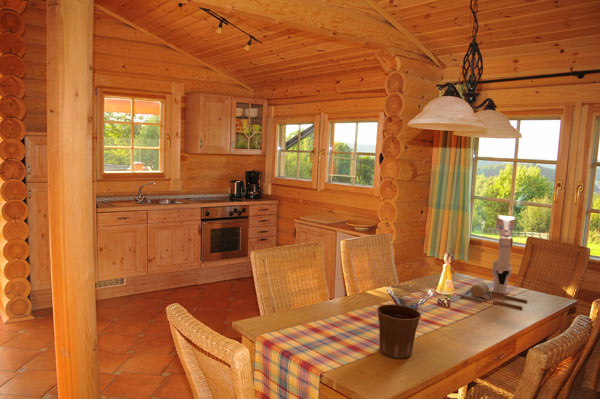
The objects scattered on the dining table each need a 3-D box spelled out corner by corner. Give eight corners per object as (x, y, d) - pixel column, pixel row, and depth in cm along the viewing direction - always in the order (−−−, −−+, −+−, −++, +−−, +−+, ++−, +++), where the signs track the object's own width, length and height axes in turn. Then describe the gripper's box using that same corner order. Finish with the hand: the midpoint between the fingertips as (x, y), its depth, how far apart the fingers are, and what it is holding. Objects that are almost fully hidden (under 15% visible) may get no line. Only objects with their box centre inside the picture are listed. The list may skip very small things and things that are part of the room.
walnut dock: (499, 296, 247) (499, 294, 247) (527, 302, 239) (527, 299, 239) (492, 303, 235) (493, 300, 235) (522, 309, 227) (522, 306, 227)
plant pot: (411, 343, 179) (414, 304, 177) (423, 362, 163) (426, 320, 161) (370, 342, 178) (373, 303, 177) (378, 361, 162) (381, 318, 160)
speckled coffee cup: (468, 296, 245) (470, 282, 244) (474, 293, 251) (476, 280, 250) (488, 301, 238) (490, 287, 237) (493, 298, 244) (495, 284, 243)
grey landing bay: (470, 289, 258) (470, 287, 258) (491, 293, 252) (491, 291, 252) (460, 297, 242) (460, 294, 242) (482, 302, 236) (482, 299, 235)
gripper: (509, 262, 229) (506, 288, 231) (514, 258, 241) (512, 282, 243) (494, 260, 234) (492, 285, 235) (500, 256, 245) (498, 280, 247)
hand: (501, 284), depth 239 cm, fingers closed
